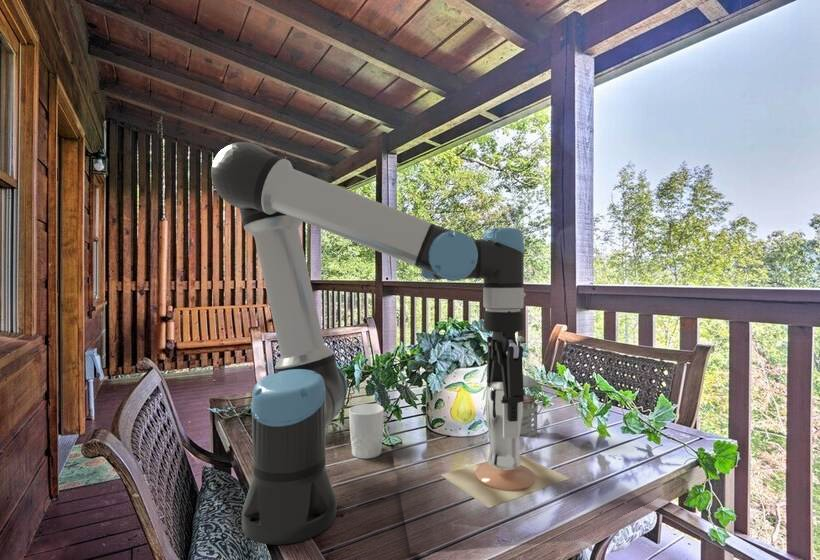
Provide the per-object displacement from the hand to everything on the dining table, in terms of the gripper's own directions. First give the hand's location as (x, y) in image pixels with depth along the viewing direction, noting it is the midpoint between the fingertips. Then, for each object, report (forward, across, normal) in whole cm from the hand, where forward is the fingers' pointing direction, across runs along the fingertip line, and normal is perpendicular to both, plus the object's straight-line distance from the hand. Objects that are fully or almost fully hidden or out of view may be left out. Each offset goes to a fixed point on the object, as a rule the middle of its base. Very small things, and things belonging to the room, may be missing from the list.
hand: (504, 429), depth 83 cm
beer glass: (+7, 0, 0) cm, 7 cm away
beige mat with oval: (+10, 0, 0) cm, 10 cm away
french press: (+11, +24, -13) cm, 29 cm away
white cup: (+11, +18, +26) cm, 34 cm away
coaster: (+9, 0, 0) cm, 9 cm away
